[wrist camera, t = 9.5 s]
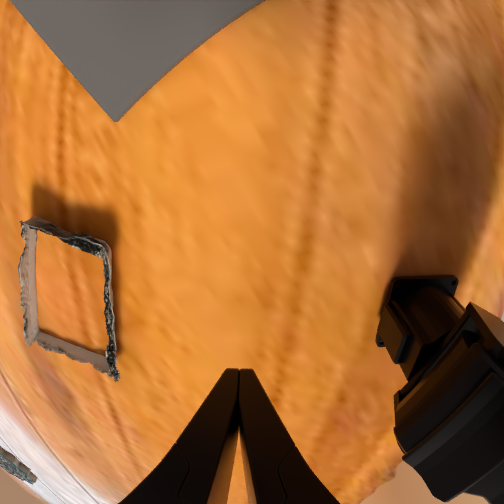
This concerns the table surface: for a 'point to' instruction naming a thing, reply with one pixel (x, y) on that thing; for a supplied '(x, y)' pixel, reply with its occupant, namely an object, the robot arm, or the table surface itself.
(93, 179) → the table surface
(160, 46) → the rubber mat
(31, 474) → the decorative tile
